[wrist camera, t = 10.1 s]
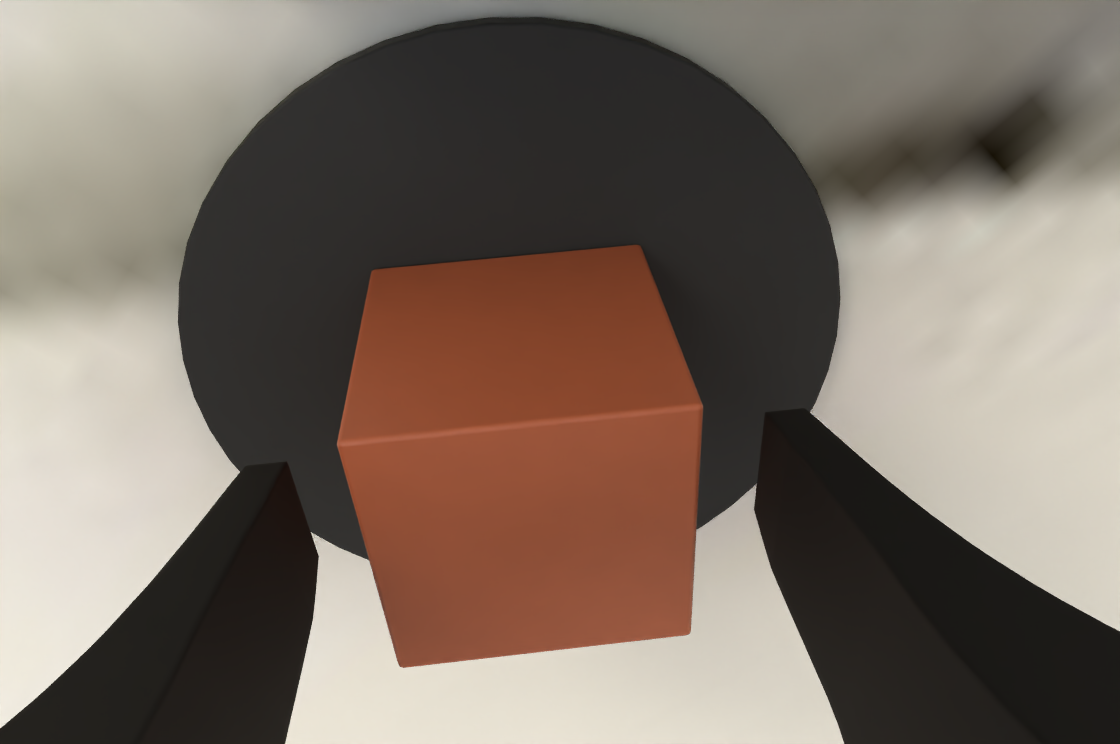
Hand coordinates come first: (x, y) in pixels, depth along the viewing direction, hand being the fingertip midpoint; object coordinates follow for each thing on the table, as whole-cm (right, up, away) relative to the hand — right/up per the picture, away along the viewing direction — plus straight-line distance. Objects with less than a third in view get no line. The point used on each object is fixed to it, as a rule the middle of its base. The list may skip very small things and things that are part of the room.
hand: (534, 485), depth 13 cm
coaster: (0, +2, +3) cm, 4 cm away
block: (0, +2, +3) cm, 3 cm away
